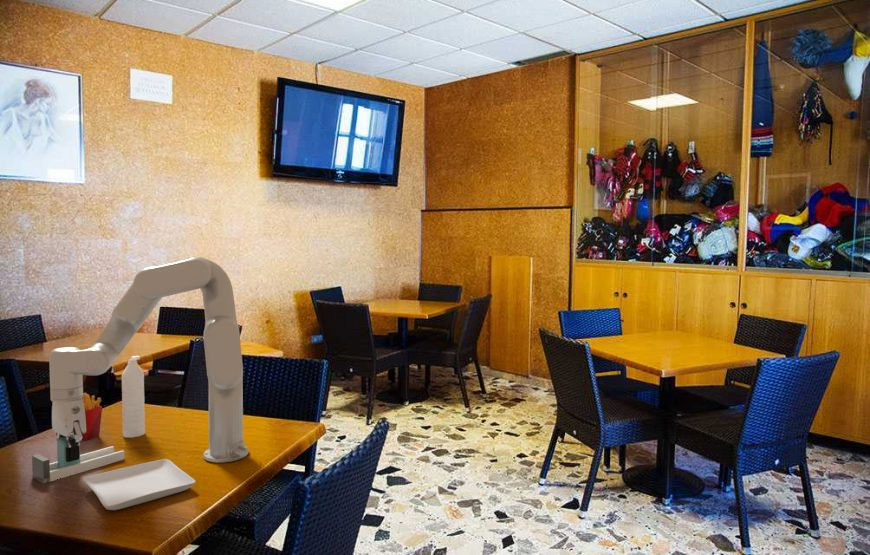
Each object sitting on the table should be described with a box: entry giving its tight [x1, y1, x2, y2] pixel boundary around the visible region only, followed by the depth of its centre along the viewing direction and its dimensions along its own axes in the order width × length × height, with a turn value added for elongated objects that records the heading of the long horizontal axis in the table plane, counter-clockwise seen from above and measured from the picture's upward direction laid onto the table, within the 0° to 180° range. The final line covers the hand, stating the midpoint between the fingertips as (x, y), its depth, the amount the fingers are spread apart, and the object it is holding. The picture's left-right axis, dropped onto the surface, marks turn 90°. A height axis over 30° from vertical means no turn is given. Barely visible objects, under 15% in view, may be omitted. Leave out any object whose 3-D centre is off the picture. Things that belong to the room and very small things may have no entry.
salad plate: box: [82, 458, 196, 511], centre depth 150 cm, size 21×21×3 cm
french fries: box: [80, 392, 103, 442], centre depth 186 cm, size 9×8×15 cm
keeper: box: [56, 433, 81, 468], centre depth 160 cm, size 4×4×8 cm
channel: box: [31, 445, 125, 485], centre depth 163 cm, size 7×21×6 cm, turn 146°
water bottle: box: [121, 355, 146, 439], centre depth 191 cm, size 9×6×25 cm
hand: (68, 457), depth 161 cm, fingers closed on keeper, 4 cm apart
